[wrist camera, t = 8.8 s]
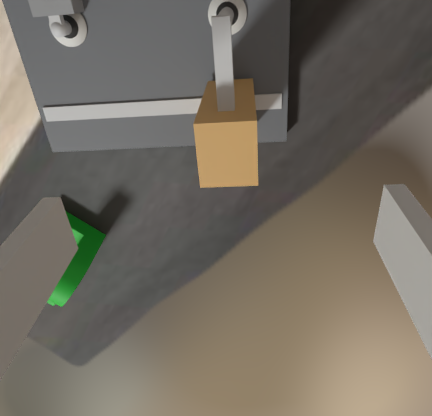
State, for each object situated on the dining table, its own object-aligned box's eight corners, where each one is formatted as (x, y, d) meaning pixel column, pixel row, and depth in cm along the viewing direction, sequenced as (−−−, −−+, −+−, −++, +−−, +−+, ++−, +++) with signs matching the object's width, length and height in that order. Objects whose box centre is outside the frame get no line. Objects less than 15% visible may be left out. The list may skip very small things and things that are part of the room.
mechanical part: (56, 204, 39) (16, 252, 32) (106, 234, 40) (78, 285, 33) (15, 269, 44) (-27, 322, 37) (60, 293, 46) (28, 348, 39)
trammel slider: (201, 8, 26) (182, 23, 18) (251, 4, 26) (255, 17, 17) (212, 130, 31) (200, 187, 22) (253, 128, 31) (258, 185, 22)
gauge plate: (8, -15, 28) (-20, -15, 25) (289, -41, 26) (295, -44, 23) (59, 145, 35) (42, 161, 32) (284, 134, 33) (289, 150, 30)
